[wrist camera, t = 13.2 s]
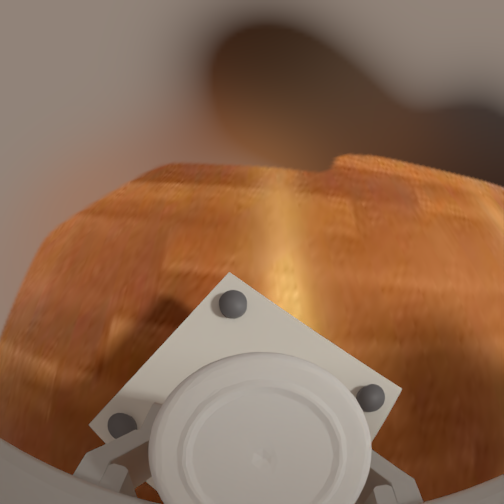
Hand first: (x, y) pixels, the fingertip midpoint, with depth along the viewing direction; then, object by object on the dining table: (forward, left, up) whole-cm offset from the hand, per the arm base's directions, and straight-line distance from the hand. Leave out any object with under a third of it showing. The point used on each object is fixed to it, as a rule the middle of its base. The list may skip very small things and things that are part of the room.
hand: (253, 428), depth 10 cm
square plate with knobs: (0, 0, -16) cm, 16 cm away
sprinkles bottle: (+1, 0, -8) cm, 8 cm away
